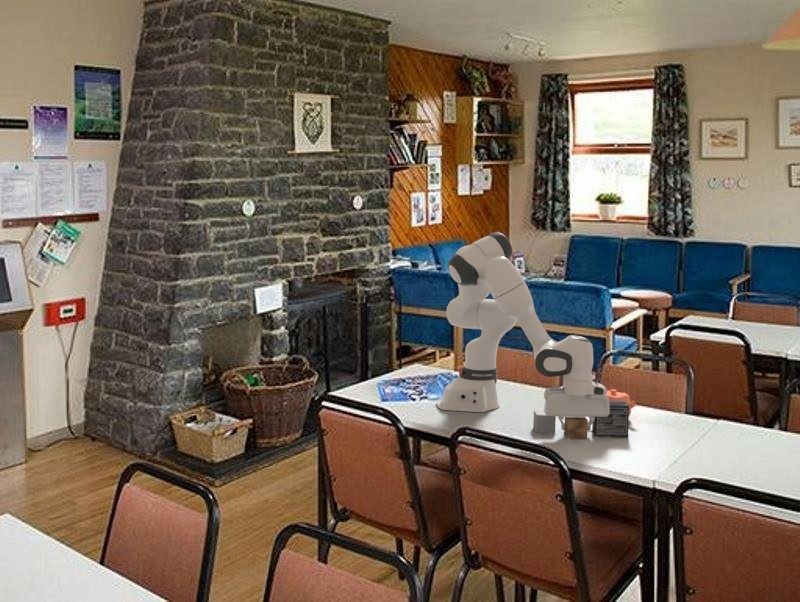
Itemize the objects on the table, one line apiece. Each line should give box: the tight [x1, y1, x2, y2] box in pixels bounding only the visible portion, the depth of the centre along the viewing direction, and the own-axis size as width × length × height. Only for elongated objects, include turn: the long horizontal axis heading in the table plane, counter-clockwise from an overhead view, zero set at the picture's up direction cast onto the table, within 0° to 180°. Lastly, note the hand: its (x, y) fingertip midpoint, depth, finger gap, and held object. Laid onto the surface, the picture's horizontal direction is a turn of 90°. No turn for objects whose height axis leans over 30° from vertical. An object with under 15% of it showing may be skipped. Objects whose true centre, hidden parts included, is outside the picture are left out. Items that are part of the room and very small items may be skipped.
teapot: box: [606, 388, 637, 417], centre depth 275 cm, size 14×12×10 cm
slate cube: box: [532, 409, 557, 434], centre depth 260 cm, size 6×6×6 cm
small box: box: [591, 401, 630, 439], centre depth 256 cm, size 11×6×10 cm, turn 85°
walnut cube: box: [563, 416, 589, 440], centre depth 254 cm, size 6×6×6 cm
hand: (575, 429), depth 254 cm, fingers closed on walnut cube, 6 cm apart
